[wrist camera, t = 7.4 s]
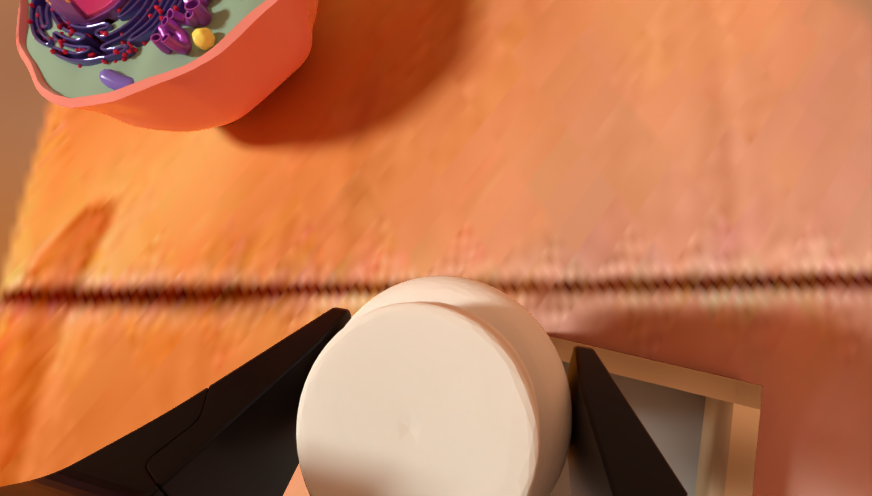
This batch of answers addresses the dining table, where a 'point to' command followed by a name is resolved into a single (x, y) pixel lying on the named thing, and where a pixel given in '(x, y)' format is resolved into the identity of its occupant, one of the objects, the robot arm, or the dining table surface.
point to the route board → (660, 427)
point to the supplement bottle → (436, 398)
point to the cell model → (164, 56)
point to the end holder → (722, 424)
